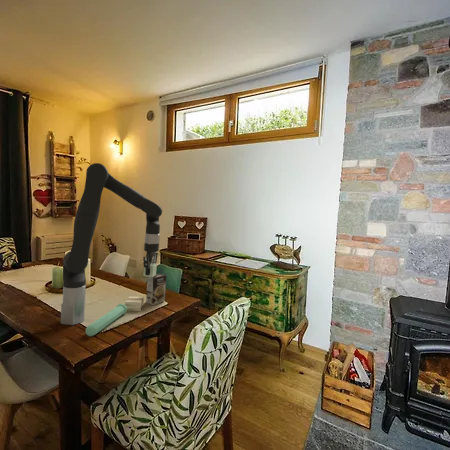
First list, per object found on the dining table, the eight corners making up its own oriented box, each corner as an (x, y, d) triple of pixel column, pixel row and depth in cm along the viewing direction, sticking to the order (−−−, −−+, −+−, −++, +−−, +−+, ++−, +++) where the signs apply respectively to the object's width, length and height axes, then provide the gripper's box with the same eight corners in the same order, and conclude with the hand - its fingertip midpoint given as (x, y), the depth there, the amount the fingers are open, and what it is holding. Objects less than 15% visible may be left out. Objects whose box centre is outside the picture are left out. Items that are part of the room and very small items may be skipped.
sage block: (152, 277, 138) (153, 265, 138) (143, 276, 139) (143, 264, 138) (155, 274, 143) (156, 263, 143) (147, 273, 144) (147, 262, 143)
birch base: (140, 311, 143) (140, 302, 142) (124, 310, 142) (125, 301, 141) (143, 305, 150) (143, 297, 150) (128, 305, 150) (129, 296, 149)
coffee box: (152, 305, 151) (154, 278, 150) (145, 302, 155) (147, 275, 153) (165, 301, 158) (166, 275, 157) (158, 298, 162) (159, 272, 161)
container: (92, 324, 112) (125, 302, 137) (80, 327, 114) (115, 304, 138) (96, 337, 112) (128, 313, 137) (85, 340, 114) (118, 315, 138)
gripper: (150, 239, 147) (148, 269, 148) (139, 243, 133) (136, 276, 134) (163, 241, 146) (161, 271, 147) (153, 244, 132) (151, 278, 133)
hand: (149, 273), depth 141 cm, fingers closed on sage block, 5 cm apart
